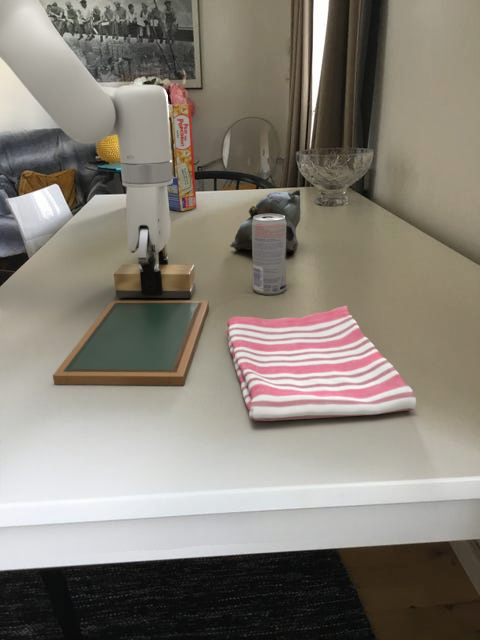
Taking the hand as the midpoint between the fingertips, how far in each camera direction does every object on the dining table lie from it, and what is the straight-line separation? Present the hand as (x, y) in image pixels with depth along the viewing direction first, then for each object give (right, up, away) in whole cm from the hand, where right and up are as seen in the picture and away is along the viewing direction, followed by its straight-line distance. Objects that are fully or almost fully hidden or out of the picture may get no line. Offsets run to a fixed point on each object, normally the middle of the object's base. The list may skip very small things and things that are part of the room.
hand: (156, 287), depth 91 cm
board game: (-8, +27, +69) cm, 74 cm away
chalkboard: (+1, -8, -16) cm, 18 cm away
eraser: (0, -1, 0) cm, 1 cm away
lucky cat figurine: (+19, +9, +23) cm, 31 cm away
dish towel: (+21, -11, -25) cm, 35 cm away
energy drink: (+18, -1, +1) cm, 18 cm away
